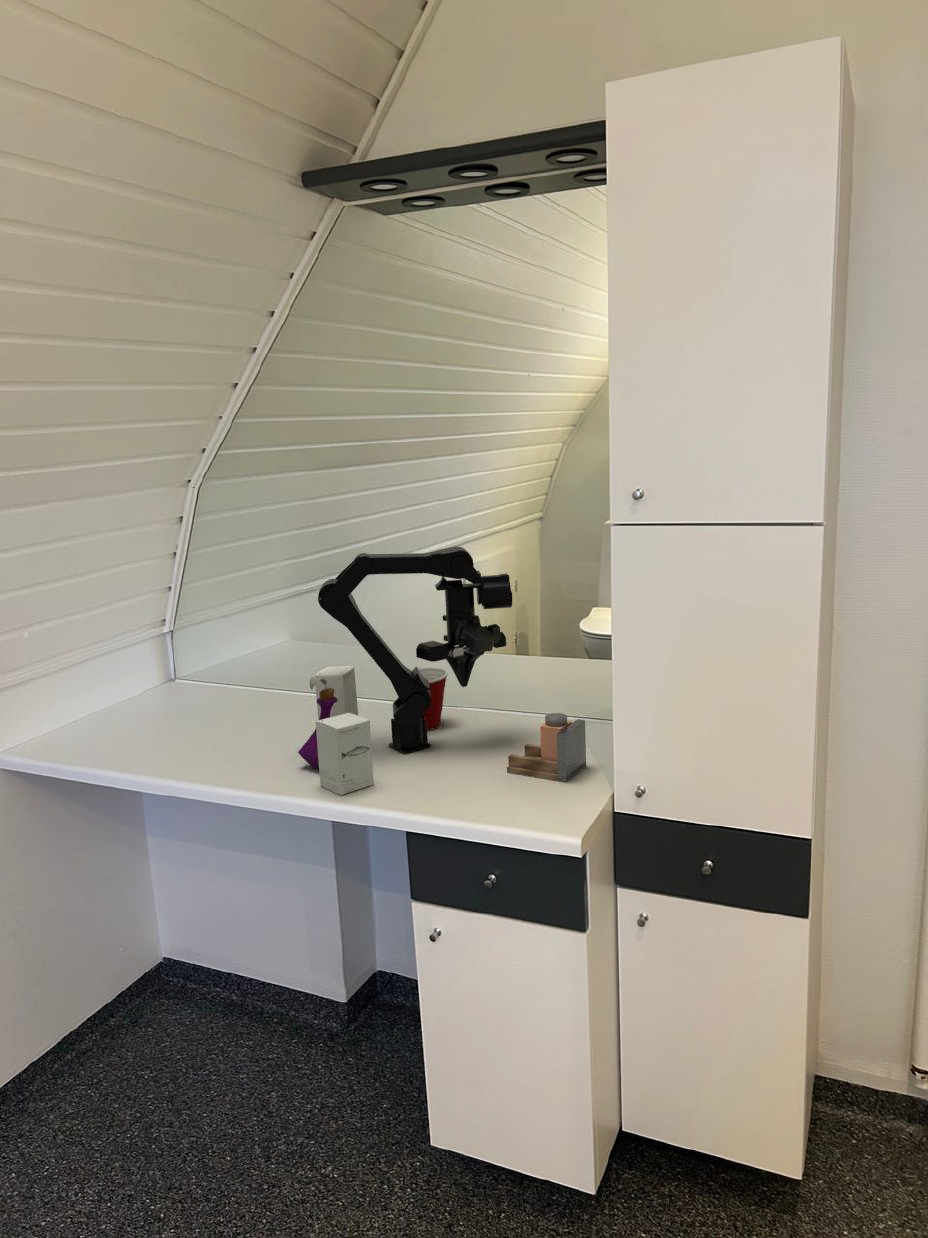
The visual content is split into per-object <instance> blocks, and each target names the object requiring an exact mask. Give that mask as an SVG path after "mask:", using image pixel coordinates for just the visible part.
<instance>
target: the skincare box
mask: <svg viewBox="0 0 928 1238" xmlns="http://www.w3.org/2000/svg"><path fill="white" fill-rule="evenodd" d="M313 677H320V678H323V679H325V680H326V681H327V684H326V686H327V688H333V689H335V690H334V696H333V697H336V698H337V699H338V700H337V702H336V703H334V704H333V706H332V708H331V712H330V717H334V716H338V715H342V714H346V713H351V714H354V715H357V716H359V710H358V709H359V708H358V696H357V684H356V672H355V666H354V665H347V666H346V665H342V666H340V665H339V666H338V665H337V666H326V667H325V668H323V669H321V670H319V671H318V672H316V673H315V674H314V675H313ZM314 687H315V697H316V700H317V699H318V698H320V694H319V693H320V692H321V691H322V690H324V689H326V687H325V684H323V683H322V682H321V681H320V680H319V681H318V682H317V683H316V684H315V686H314ZM316 707H317V708H316V709H317V719H318V720H319V718H320V713H321V707H320V705H319V704H318V703H317V702H316ZM318 720H317V721H318Z"/></svg>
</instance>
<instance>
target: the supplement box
mask: <svg viewBox="0 0 928 1238" xmlns="http://www.w3.org/2000/svg"><path fill="white" fill-rule="evenodd" d="M315 729H316V733H317V747H318V760H319V769H318V771H319V785H320V786H321V787H323V788H325V789H327V790H328V791H331V792H333V793H334V794H336V795H339V796H343V795H345V794H348V793H351V792H355V791H358V790H361V789H364V788H367V787H372V786H374V783H375V782H374V781H375V780H374V769H373V768H374V766H373V752H372V737H371V735H372V734H371V721H370V719H368V718H366V717H362V716H360V715H358V716H357V715H354V714H351V713H346V714H342V715H338V716H334V717H330V718H326V719H322V720H316V721H315Z"/></svg>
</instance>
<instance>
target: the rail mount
mask: <svg viewBox="0 0 928 1238" xmlns="http://www.w3.org/2000/svg"><path fill="white" fill-rule="evenodd" d="M586 741H587V740H586V720H585V719H580V718H578V719H575V720H574V721H572V724H570V725H569V726H567V727H566V728H564V729H563V730H561V731H560V732H558V733H557V755H558V762H556V761H550V760H544V759H541V744H540V745H539V744H532V743H525V744H524V755H518V754H511V753H510V754H509V755H508V756H507V758H508V759H507V760H508V766H507V767H506V773H507V772H512V773H511V774H513V773H517V774H516V775H519V774H524V775H523V776H525V775H528V776H527V777H531V776H534V777H533V778H537V777H538V778H537V779H544V780H550V781H557V782H561V783H567V782H568V781H570V780H571V779H572V778H573V777H575V776H576V775H577V774H578V773H580V770H581V769H582V770H583V769H585V768H586V767H587V750H586V749H587V748H586V747H587V745H586V744H587V743H586ZM582 770H581V771H582ZM575 774H576V775H575Z"/></svg>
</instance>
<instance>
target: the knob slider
mask: <svg viewBox="0 0 928 1238" xmlns="http://www.w3.org/2000/svg"><path fill="white" fill-rule="evenodd" d="M544 720H545V723H542V725H540V726H539V727H540V730H539V731H540V746H541V759H544V760H550V761H556V762H558V755H557V733H558V732H560V731H561V730H563V729H564V728H566V727H567V726H569V725H570V724H572V723H573V721H572V720H568V715H567V714H565V713H561V712H553V713H548V714H545V716H544Z"/></svg>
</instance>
